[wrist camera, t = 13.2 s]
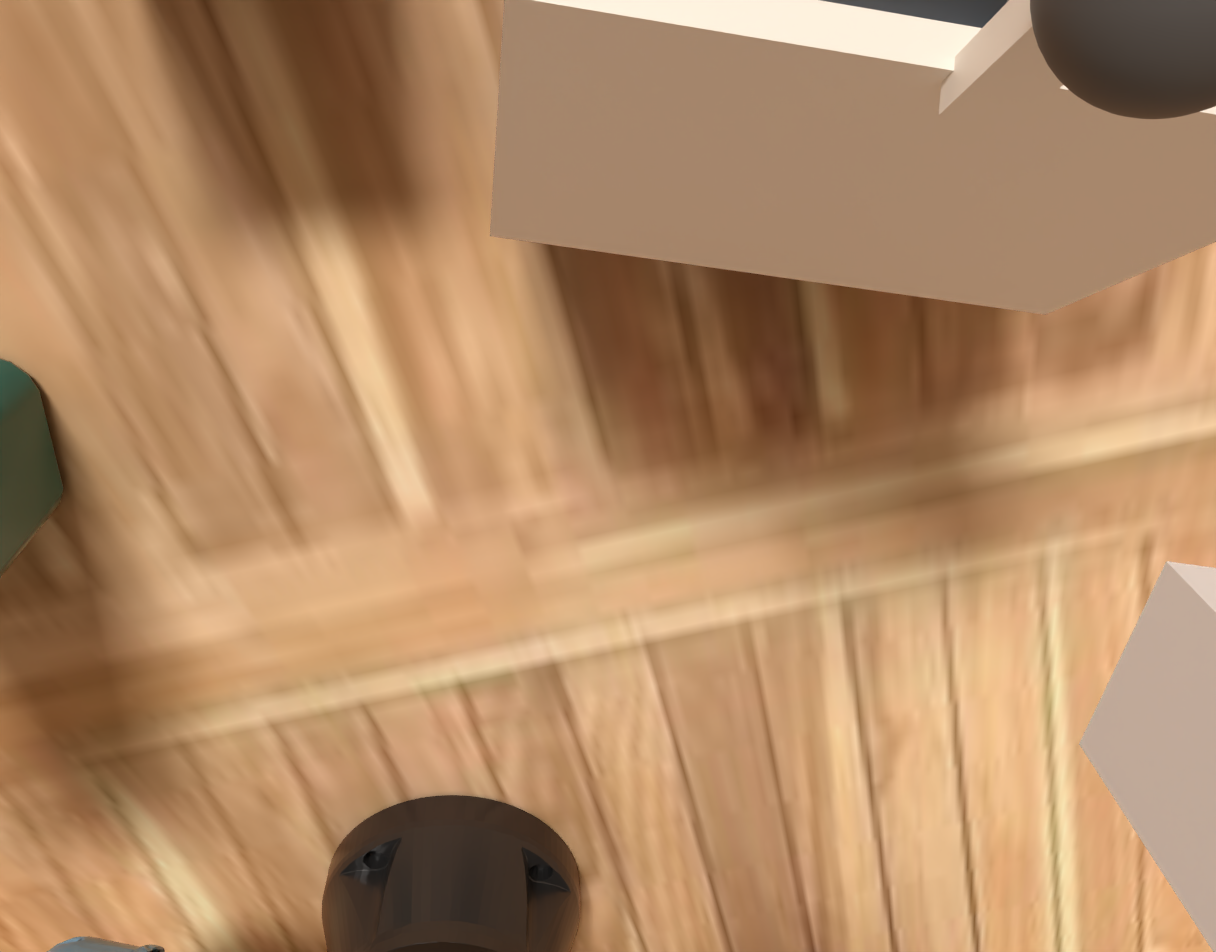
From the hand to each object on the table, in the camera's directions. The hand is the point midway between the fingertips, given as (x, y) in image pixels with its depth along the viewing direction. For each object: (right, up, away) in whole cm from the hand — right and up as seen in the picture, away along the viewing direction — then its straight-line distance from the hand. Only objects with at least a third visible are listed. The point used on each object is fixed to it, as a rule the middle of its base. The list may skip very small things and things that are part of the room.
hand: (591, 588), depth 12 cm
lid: (+8, +10, +14) cm, 19 cm away
